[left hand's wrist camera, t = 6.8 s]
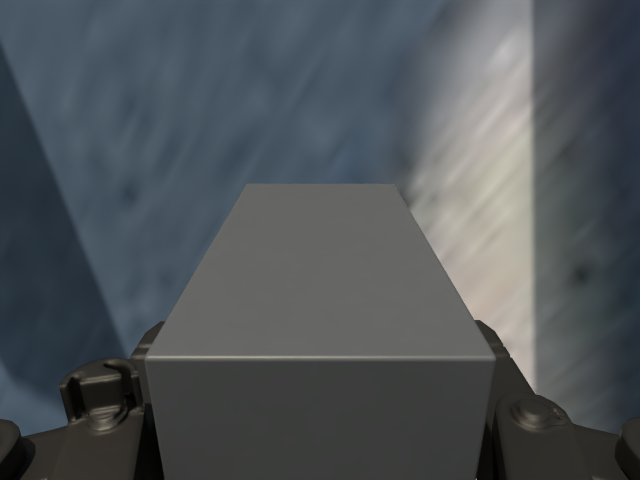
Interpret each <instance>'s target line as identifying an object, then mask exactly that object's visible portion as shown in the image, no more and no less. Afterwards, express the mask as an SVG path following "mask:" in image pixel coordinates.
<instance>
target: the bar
mask: <svg viewBox="0 0 640 480" xmlns="http://www.w3.org/2000/svg"><path fill="white" fill-rule="evenodd" d="M144 362H145V368H146V374H147V379H148V385H149V391H150V397H151V403H152V408H153V414H154V420H155V426H156V432H157V437H158V443H159V449H160V455H161V461H162V466H163V472H164V478H165V480H476V475H477V469H478V463H479V457H480V452H481V446H482V440H483V434H484V428H485V423H486V417H487V411H488V405H489V400H490V394H491V388H492V382H493V376H494V371H495V365H496V356H495V354H494V353H493V351H492V349H491V348H490V346H489V344H488V343H487V341H486V339H485V338H484V336H483V334H482V332H481V331H480V329H479V327H478V326H477V324H476V322H475V321H474V319H473V317H472V316H471V314H470V312H469V310H468V309H467V307H466V305H465V304H464V302H463V300H462V299H461V297H460V295H459V294H458V292H457V290H456V288H455V287H454V285H453V283H452V282H451V280H450V278H449V277H448V275H447V273H446V272H445V270H444V268H443V266H442V265H441V263H440V261H439V260H438V258H437V256H436V255H435V253H434V251H433V250H432V248H431V246H430V244H429V243H428V241H427V239H426V238H425V236H424V234H423V233H422V231H421V229H420V228H419V226H418V224H417V222H416V221H415V219H414V217H413V216H412V214H411V212H410V211H409V209H408V207H407V206H406V204H405V202H404V200H403V199H402V197H401V195H400V194H399V192H398V190H397V189H396V187H395V185H394V184H246V186H245V187H244V189H243V191H242V193H241V194H240V196H239V198H238V199H237V201H236V203H235V204H234V206H233V208H232V209H231V211H230V213H229V215H228V216H227V218H226V220H225V221H224V223H223V225H222V226H221V228H220V230H219V232H218V233H217V235H216V237H215V238H214V240H213V242H212V243H211V245H210V247H209V248H208V250H207V252H206V254H205V255H204V257H203V259H202V260H201V262H200V264H199V265H198V267H197V269H196V270H195V272H194V274H193V276H192V277H191V279H190V281H189V282H188V284H187V286H186V287H185V289H184V291H183V293H182V294H181V296H180V298H179V299H178V301H177V303H176V304H175V306H174V308H173V309H172V311H171V313H170V315H169V316H168V318H167V320H166V321H165V323H164V325H163V326H162V328H161V330H160V331H159V333H158V335H157V337H156V338H155V340H154V342H153V343H152V345H151V347H150V348H149V350H148V352H147V354H146V355H145V358H144Z"/></svg>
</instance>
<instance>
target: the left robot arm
mask: <svg viewBox="0 0 640 480" xmlns="http://www.w3.org/2000/svg"><path fill="white" fill-rule="evenodd" d="M474 321H475V322H476V324H477V326H478V327H479V329H480V331H481V332H482V334H483V336H484V338H485V339H486V341H487V343H488V344H489V346H490V348H491V349H492V351H493V353H494V354H495V356H496V365H495V371H494V376H493V382H492V388H491V394H490V400H489V405H488V411H487V417H486V423H485V428H484V434H483V440H482V446H481V452H480V457H479V463H478V469H477V475H476V479H477V480H640V417H639V418H633V419H629V420H628V421H627V422H625V423H624V424H623V425H622V428H621V431H620V435H616V434H612V433H608V432H603V431H599V430H595V429H590V428H586V427H583V426H579V425H576V424H573V423H572V421H571V420H570V418H569V417H568V415H567V414H566V412H565V411H564V410H563V409H562V408H560V407H559V406H558V405H557V404H555V403H554V402H552V401H550V400H548V399H546V398H544V397H542V396H540V395H536V394H535V393H534V391H533V390H532V388H531V387H530V385H529V384H528V382H527V381H526V379H525V377H524V376H523V374H522V373H521V371H520V370H519V368H518V367H517V365H516V363H515V362H514V360H513V359H512V358H510V354H509V353H508V351H507V349H506V348H505V347H503V343H502V342H501V340H500V338H499V337H498V335H497V334H496V332H495V331H494V330H492V329H491V328H490V327H488V326H487V325H486V324H484V323H483V322H482V321H480V320H474ZM164 323H165V322H159V323H158V324H157V325H155V326H154V327H153V328H151V329H150V330H149V331H147V332H146V333H145V335H144V336H143V338H142V339H141V341H140V342H139V344H138V346H137V348H136V349H135V350H134V352H133V353H132V355H131V358H130V359H129V360H127V359H123V358H104V359H100V360H95V361H91V362H89V363H87V364H85V365H82V366H80V367H78V368H76V369H75V370H74V371H72V372H71V373H69V374H68V375H67V376H66V377H65V378H64V379H63V381H62V382H61V383H60V385H59V388H60V392H61V396H62V399H63V403H64V407H65V411H66V415H67V419H68V425H67V426H64V427H61V428H57V429H54V430H49V431H45V432H41V433H36V434H32V435H28V436H23V437H21V433H20V430H19V427H18V426H17V425H16V424H15V423H13V422H12V421H9V420H3V419H0V480H164V479H165V478H164V472H163V466H162V461H161V455H160V449H159V443H158V437H157V432H156V426H155V420H154V414H153V408H152V403H151V397H150V391H149V385H148V379H147V374H146V368H145V362H144V358H145V355H146V354H147V352H148V350H149V348H150V347H151V345H152V343H153V342H154V340H155V338H156V337H157V335H158V333H159V331H160V330H161V328H162V326H163V325H164Z"/></svg>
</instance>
